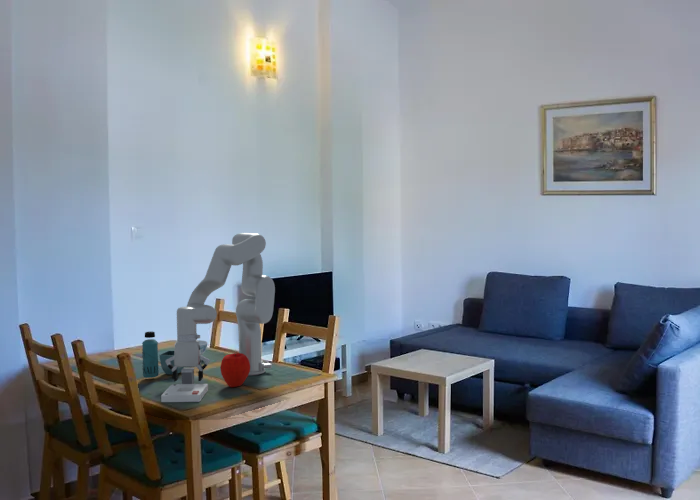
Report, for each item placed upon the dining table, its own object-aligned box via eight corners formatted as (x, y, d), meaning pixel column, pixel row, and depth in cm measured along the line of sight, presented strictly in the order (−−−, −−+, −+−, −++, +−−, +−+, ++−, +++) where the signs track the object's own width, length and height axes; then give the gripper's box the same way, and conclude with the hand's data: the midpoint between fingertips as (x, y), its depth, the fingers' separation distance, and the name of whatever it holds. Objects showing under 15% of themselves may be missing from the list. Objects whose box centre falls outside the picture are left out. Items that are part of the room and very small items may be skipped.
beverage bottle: (152, 376, 291) (151, 329, 290) (162, 379, 287) (161, 331, 286) (139, 379, 286) (138, 332, 285) (148, 382, 282) (147, 333, 281)
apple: (245, 390, 267) (244, 356, 267) (216, 389, 269) (215, 355, 269) (254, 383, 279) (253, 350, 278) (226, 382, 281) (225, 349, 280)
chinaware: (175, 356, 330) (175, 340, 329) (208, 355, 332) (207, 339, 332) (174, 363, 315) (173, 347, 314) (207, 362, 318) (207, 345, 317)
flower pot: (178, 376, 292) (178, 355, 291) (159, 375, 293) (158, 354, 293) (187, 371, 300) (187, 351, 300) (168, 370, 302) (168, 350, 301)
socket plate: (207, 390, 269) (207, 382, 269) (199, 401, 253) (199, 393, 253) (171, 390, 269) (171, 382, 269) (161, 402, 253) (161, 394, 253)
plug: (194, 385, 277) (194, 367, 277) (192, 387, 273) (191, 370, 272) (184, 385, 277) (183, 367, 277) (181, 387, 273) (181, 370, 272)
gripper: (210, 336, 278) (211, 378, 279) (167, 336, 277) (168, 378, 278) (207, 339, 270) (207, 382, 271) (162, 340, 270) (163, 383, 271)
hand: (187, 380), depth 275 cm, fingers open, 9 cm apart
